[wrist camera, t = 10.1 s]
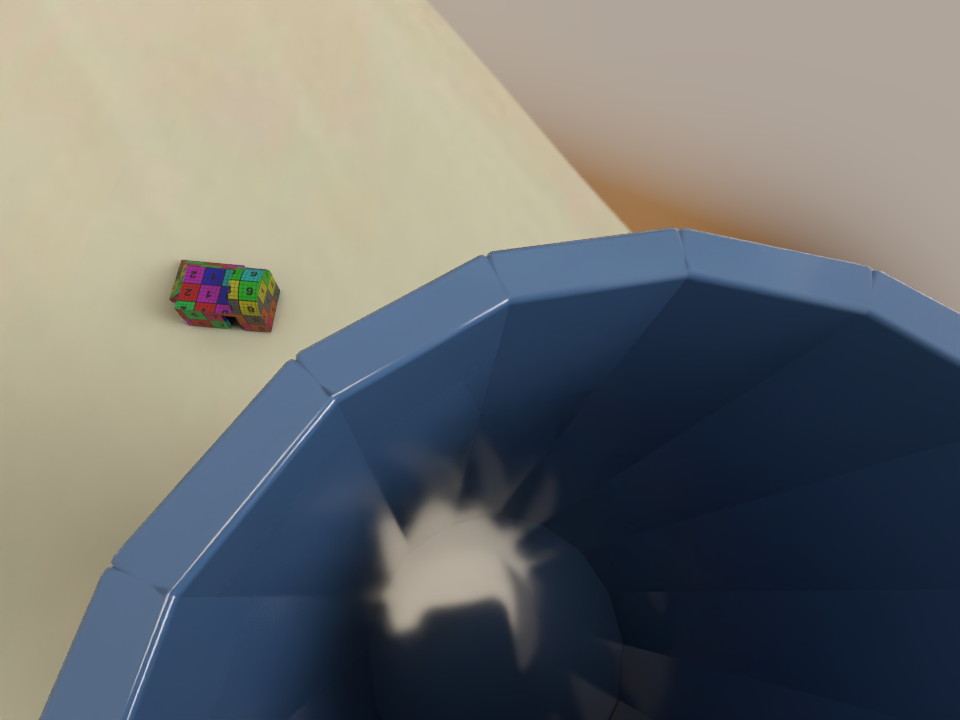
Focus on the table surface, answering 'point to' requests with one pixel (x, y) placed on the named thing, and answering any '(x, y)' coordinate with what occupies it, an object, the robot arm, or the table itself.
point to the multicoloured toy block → (225, 295)
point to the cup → (566, 507)
